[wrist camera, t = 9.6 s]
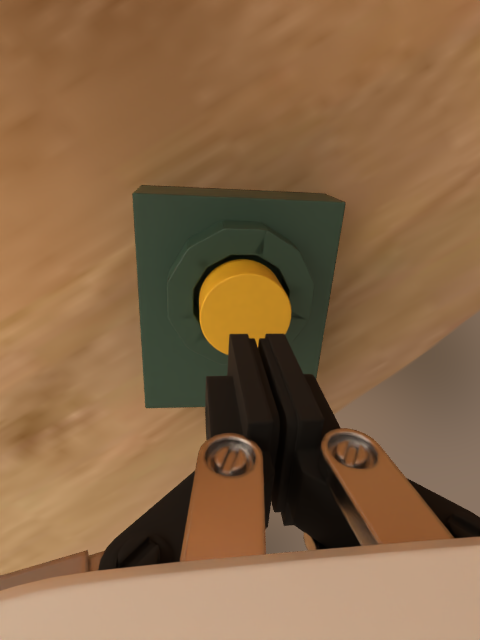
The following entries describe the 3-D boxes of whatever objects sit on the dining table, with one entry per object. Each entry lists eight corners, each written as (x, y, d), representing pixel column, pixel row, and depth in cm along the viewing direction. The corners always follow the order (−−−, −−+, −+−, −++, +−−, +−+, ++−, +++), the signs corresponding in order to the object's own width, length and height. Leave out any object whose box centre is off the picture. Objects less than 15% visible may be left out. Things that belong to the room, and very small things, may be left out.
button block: (140, 184, 20) (125, 198, 15) (325, 193, 21) (361, 208, 17) (150, 377, 25) (141, 430, 21) (299, 375, 26) (321, 424, 22)
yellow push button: (199, 257, 17) (199, 272, 15) (285, 259, 18) (296, 274, 16) (198, 336, 19) (198, 358, 17) (277, 335, 19) (286, 357, 18)
